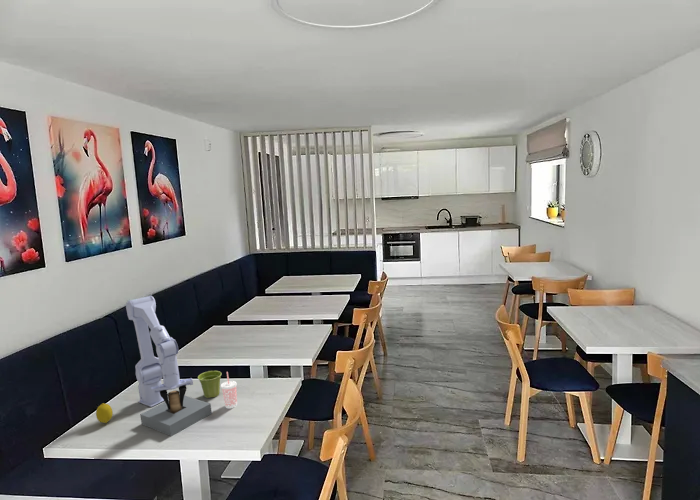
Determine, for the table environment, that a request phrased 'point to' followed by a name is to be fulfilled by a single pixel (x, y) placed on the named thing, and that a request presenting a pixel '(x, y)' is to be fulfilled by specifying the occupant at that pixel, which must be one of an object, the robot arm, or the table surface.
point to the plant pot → (210, 383)
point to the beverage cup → (229, 393)
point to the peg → (174, 401)
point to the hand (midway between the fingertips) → (175, 406)
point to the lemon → (104, 413)
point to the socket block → (176, 416)
